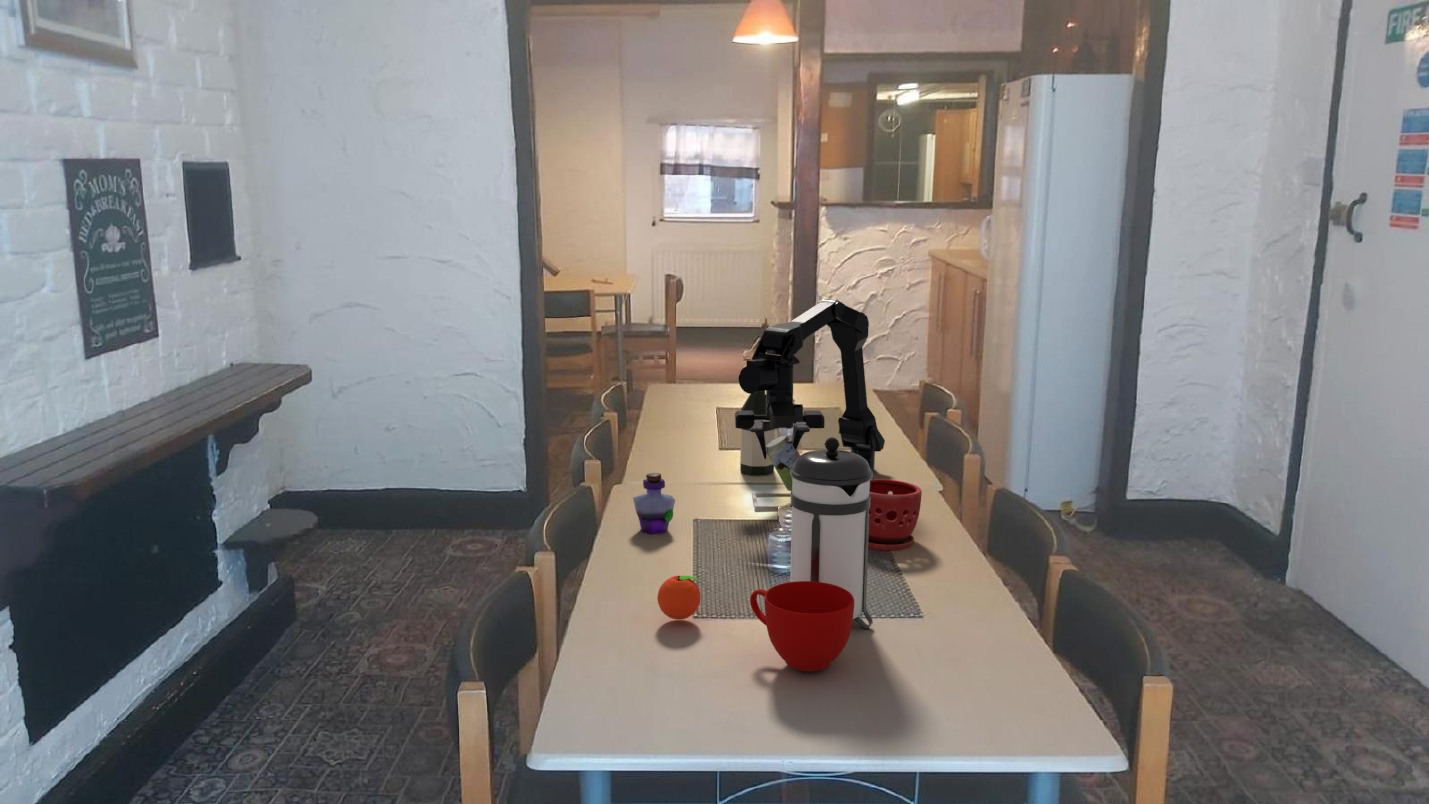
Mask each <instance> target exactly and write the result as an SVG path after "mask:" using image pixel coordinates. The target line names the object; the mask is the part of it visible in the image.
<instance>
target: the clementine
mask: <svg viewBox="0 0 1429 804" xmlns="http://www.w3.org/2000/svg"><path fill="white" fill-rule="evenodd" d="M694 580H696V581H700V582H701V579H699V578H697V577H695V576H691V575H673V576H670V577H669V578H666V579H665V581H664V582H663V583H662V584H661V585H660V587H659V588H658V591H657V604H658V607H659V608H660V611H661V612H662V613H663V614H664V615H665V616H667V617H668V618H670V619H672V620H685V619H688V618H689V617H692V616H693V615H694V614H695V613H696V611H698V609H699V606H700V604H701V598H702V597H701V591H700V589H699V586H698V585H697V583H696V582H695V581H694ZM702 585H703V586H704V589H706V586H705V584H704V583H702Z"/></svg>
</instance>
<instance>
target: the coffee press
mask: <svg viewBox="0 0 1429 804" xmlns="http://www.w3.org/2000/svg"><path fill="white" fill-rule="evenodd" d="M840 446H841V445H840V441H839V440H838V439H837V438H836V437H833V436H832V437H829V438H827V439H826V440H825V443H824V447H825V449H816V450H815V449H814V450H810V451H807V452H804V453H802V454H800V456H799V457H798V458H797V459H796V461H795V463H794V465H793V466H792V467H791V468H790V475H791V477H792V490H791V491H790V493H791V496H790V506H792V510H791V523H790V524H791V525H790V528H791V530H790V531H791V532H790V566H789V567H790V571H789V573H790V574H789V576H790V577H789V582H796V581H814V582H822V583H828V584H832V585H836V586H839V587H841V588H843V589H845V590H847V591H848V592H850V593H851V594H852V596H853V598H854V613H853V621H856V622H857V623H858V624H859V625H860V626H861V627H862V628H863V629H865V630H866V629H870V627H871V626H872V625H873V623H874V621H873V618H872V617H871V615H870V613H869V612H868V608H867V592H868V591H867V589H868V588H867V587H868V563H869V562H868V560H869V558H868V557H869V548H868V538H869V508H870V503H871V494H870V492H869V489H870V480H871V479H873V477H874V475H873V472H874V471H872V470H871V469H870V467H869V464H868V462H867V461H866V460H865V459H864V458H863V457H861V456H860V455H858V454H855V453H852V452H851V451H849V450H842V449H839V448H840ZM862 613H863V615H864V617H865V619H866V620H867V621H868V624H867V623H866V622H865V621H864V620H863V619H862V618H861V617H860V616H861V615H862Z"/></svg>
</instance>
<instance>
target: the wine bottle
mask: <svg viewBox="0 0 1429 804" xmlns="http://www.w3.org/2000/svg"><path fill="white" fill-rule="evenodd" d="M751 360H753V359H752V358H751ZM740 411H753V412H754V415H766V391H762V392H757V393H753V394H749V396H748V397H747V399H746V401H745V402H744V404H742V407H741V408H740ZM763 429H764V437H765V445H767V444H768V443H769V442H770V441H772V440H773V439H775V438H776V437H775V435H776V433H775V432H776V431H775V430H776V429H773V428H771V427H770V424H763ZM739 457H740V474H742V475H747V476H751V477H756V476H757V477H758V476H759V477H760V476H761V477H764V476H769V475H771V474H774V473H775V467H774V465H773V464H772V462H771V460H770V458H769V456H768V455H767V447H766V459H764V456H763V453H762V449H761V446H760V443H759V440H758V438H757V436H756V434H755V432H750V429H740V456H739Z"/></svg>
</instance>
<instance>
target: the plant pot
mask: <svg viewBox="0 0 1429 804" xmlns="http://www.w3.org/2000/svg"><path fill="white" fill-rule="evenodd" d="M869 492H870V494H871V503H870V508H869V538H868V550H869V549H870V550H876V551H887V552H888V551H889V552H890V551H892V552H893V551H900V550H904V549H907V548H910V547H911V546H912V545H913V544H914V542H915V538H914V536H913V535H912V534H913V532H914V530H915V528H916V526H917V523H918V519H919V516H920V513H921V512H920V510H921V504H922V494H923V493H922V492H923V491H922V489H921V488H920V487H919V486H917V485H915V484H914V483H909V482H906V481H902V480H897V479H896V480H894V479H885V478H883V479H881V478H879V479H877V478H874V479H873V478H872V479H871V480H870V489H869ZM889 492H890V493H893V494H892V495H888V493H889Z"/></svg>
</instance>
